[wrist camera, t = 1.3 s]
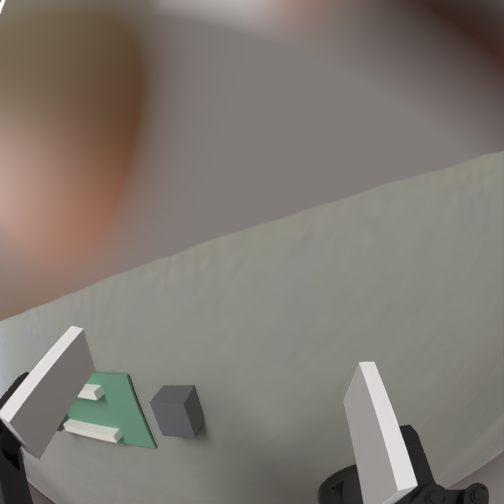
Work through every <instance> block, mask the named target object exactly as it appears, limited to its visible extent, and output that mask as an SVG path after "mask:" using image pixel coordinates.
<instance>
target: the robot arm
mask: <svg viewBox="0 0 504 504" xmlns="http://www.w3.org/2000/svg"><path fill="white" fill-rule="evenodd" d="M94 371H95V366H94V363H93V360H92V357H91V354H90V350H89V347H88V344H87V340H86V337H85V333H84V330H83V329H82V328H78V327H74V326H71V327H70V328H69V329H68V331H67V332H66V333H65V334H64V335H63V336H62V337H61V338H60V339H59V340H58V341H57V343H56V344H55V345H54V346H53V347H52V348H51V349H50V350H49V352H48V353H47V354H46V355H45V356H44V357H43V358H42V360H41V361H40V362H39V363H38V364H37V365H36V367H35V368H34V369H33V370H32V371H31V373H28V372H25V373H24V374H22V375H21V376H19V377H18V378H17V379H16V380H15V382H14V383H13V385H11V386H10V388H9V389H8V391H6V393H5V394H4V395H3V396H2V398H1V399H0V504H33V501H32V498H31V494H30V490H29V486H28V482H27V478H26V473H25V468H24V463H23V458H22V453H21V451H20V447H21V445H22V447H23V448H24V449H25V450H26V451H27V452H28V453H29V454H31V455H33V456H34V457H36V458H38V459H39V460H40V458H41V456H42V454H43V453H44V451H45V449H46V447H47V446H48V444H49V442H50V440H51V439H52V437H53V435H54V434H55V432H56V430H57V429H58V427H59V425H60V424H61V422H62V420H63V419H64V417H65V416H66V414H67V412H68V411H69V409H70V408H71V406H72V404H73V403H74V401H75V400H76V398H77V397H78V395H79V393H80V392H81V390H82V389H83V387H84V386H85V384H86V383H87V381H88V380H89V378H90V377H91V375H92V374H93V372H94ZM343 402H344V407H345V411H346V416H347V420H348V425H349V429H350V434H351V439H352V444H353V449H354V454H355V459H356V464H357V465H353V466H350V467H348V468H345V469H343V470H341V471H339V472H337V473H335V474H334V475H332V476H331V477H329V478H328V479H327V480H326V481H325V482H324V483H323V484H322V485H321V487H320V489H319V493H318V494H319V503H320V504H488V501H489V493H488V490H487V487H486V486H484V485H483V484H481V483H474V484H472V485H470V486H469V487H468V488H466V489H463V490H445V488H444V487H442V486H440V485H437V484H436V483H435V481H434V479H433V476H432V473H431V470H430V467H429V464H428V461H427V458H426V455H425V453H424V450H423V447H422V445H421V442H420V439H419V436H418V434H417V432H416V431H415V430H414V429H413V428H412V427H411V425H404V426H398V423H397V420H396V417H395V415H394V412H393V409H392V406H391V404H390V401H389V398H388V396H387V393H386V391H385V388H384V385H383V383H382V380H381V378H380V375H379V373H378V370H377V368H376V365H375V363H374V362H359V364H358V366H357V369H356V371H355V374H354V376H353V379H352V381H351V384H350V386H349V389H348V391H347V393H346V396H345V398H344V400H343Z"/></svg>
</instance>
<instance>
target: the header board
mask: <svg viewBox="0 0 504 504" xmlns="http://www.w3.org/2000/svg"><path fill="white" fill-rule="evenodd" d="M64 428H65V429H66V431H69V432H72V433H76V434H80V435H84V436H88V437H92V438H96V439H101V440H105V441H110V442H115V443H117V442H118V443H123V444H129V445H135V446H142V447H149V448H156V444H155V442H154V439H153V437H152V435H151V433H150V430H149V428H148V425H147V423H146V421H145V418H144V416H143V413H142V411H141V408H140V406H139V403H138V400H137V398H136V395H135V392H134V389H133V386H132V384H131V381H130V378H129V375H128V374H118V373H100V372H93V374H92V375H91V377H90V378H89V380H88V381H87V383H86V384H85V386H84V387H83V389H82V390H81V392H80V393H79V395H78V397H77V398H76V400H75V401H74V403H73V404H72V406H71V408H70V409H69V411H68V412H67V414H66V416H65V417H64V419H63V420H62V422H61V424H60V425H59V427H58V429H57V431H60V432H61V431H62V430H63V429H64Z"/></svg>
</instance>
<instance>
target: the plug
mask: <svg viewBox="0 0 504 504" xmlns="http://www.w3.org/2000/svg"><path fill="white" fill-rule="evenodd" d="M150 404H151V407H152V410H153V412H154V415H155V417H156V420H157V422H158V425H159V427H160V430H161V432H162V435H163V436H176V437H194V438H195V437H196V435H197V433H198V430H199V428H200V426H201V424H202V421H203V419H204V416H203V413H202V410H201V406H200V403H199V400H198V396H197V393H196V389H195V386H194V385H192V386H162V388H161V389H160V390H159V392H158V393H157V394H156V395H155V397H154V398H153V399H152V400H151V402H150Z"/></svg>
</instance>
